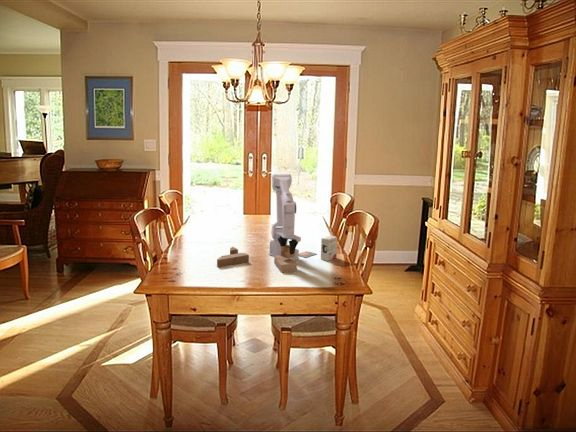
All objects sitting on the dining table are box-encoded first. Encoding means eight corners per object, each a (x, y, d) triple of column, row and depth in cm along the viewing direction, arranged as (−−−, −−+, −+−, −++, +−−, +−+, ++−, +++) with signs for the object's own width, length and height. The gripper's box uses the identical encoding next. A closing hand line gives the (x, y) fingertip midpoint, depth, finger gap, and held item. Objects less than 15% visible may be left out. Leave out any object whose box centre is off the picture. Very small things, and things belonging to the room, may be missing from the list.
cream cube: (285, 258, 262) (285, 249, 261) (291, 256, 266) (291, 247, 265) (292, 260, 259) (292, 251, 258) (298, 258, 263) (298, 249, 262)
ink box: (329, 256, 269) (330, 235, 267) (336, 258, 266) (337, 236, 264) (320, 259, 263) (321, 237, 260) (327, 261, 260) (328, 239, 257)
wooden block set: (250, 252, 253) (218, 257, 243) (250, 263, 254) (219, 268, 244) (234, 244, 267) (204, 249, 257) (234, 255, 268) (204, 259, 258)
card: (295, 255, 269) (295, 254, 269) (306, 251, 276) (306, 251, 276) (305, 257, 264) (305, 257, 264) (316, 254, 272) (316, 253, 272)
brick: (297, 272, 241) (297, 263, 240) (280, 273, 239) (280, 264, 238) (289, 262, 257) (289, 254, 256) (273, 263, 255) (273, 254, 254)
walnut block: (280, 256, 247) (281, 246, 246) (287, 254, 250) (287, 244, 249) (288, 258, 243) (288, 248, 242) (295, 256, 247) (295, 246, 246)
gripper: (272, 225, 245) (271, 251, 248) (294, 230, 236) (293, 257, 239) (281, 223, 251) (280, 248, 253) (304, 227, 241) (303, 254, 244)
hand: (287, 252), depth 246 cm, fingers closed on walnut block, 5 cm apart
